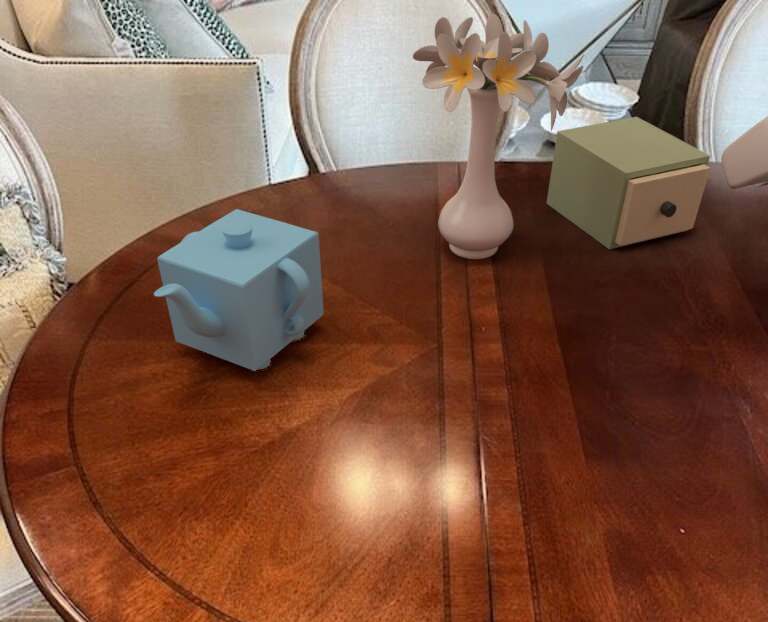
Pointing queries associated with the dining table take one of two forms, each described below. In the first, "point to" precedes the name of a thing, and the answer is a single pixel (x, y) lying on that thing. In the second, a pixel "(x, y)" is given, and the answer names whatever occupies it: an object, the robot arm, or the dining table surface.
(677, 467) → the dining table surface
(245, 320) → the teapot
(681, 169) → the drawer
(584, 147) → the cabinet
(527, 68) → the flower vase
